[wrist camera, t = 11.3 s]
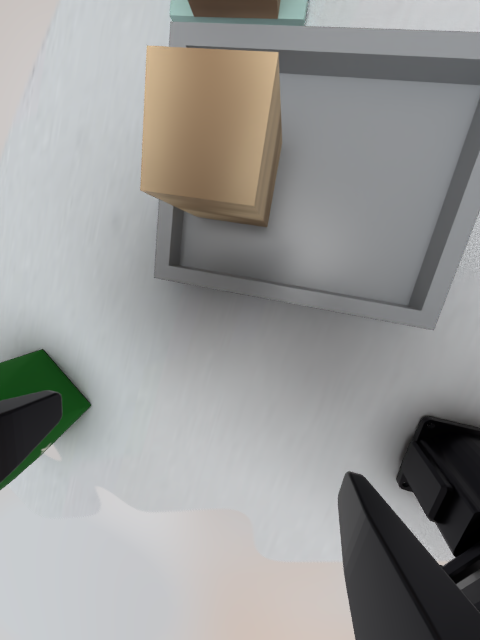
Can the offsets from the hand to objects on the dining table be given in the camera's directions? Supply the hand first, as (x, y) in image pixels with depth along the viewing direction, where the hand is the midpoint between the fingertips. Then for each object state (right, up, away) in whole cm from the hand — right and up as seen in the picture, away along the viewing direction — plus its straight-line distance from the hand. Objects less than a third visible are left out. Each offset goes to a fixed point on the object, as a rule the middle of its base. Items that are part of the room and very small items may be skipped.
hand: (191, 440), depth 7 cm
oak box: (+1, +13, +9) cm, 16 cm away
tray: (+6, +12, +9) cm, 16 cm away
